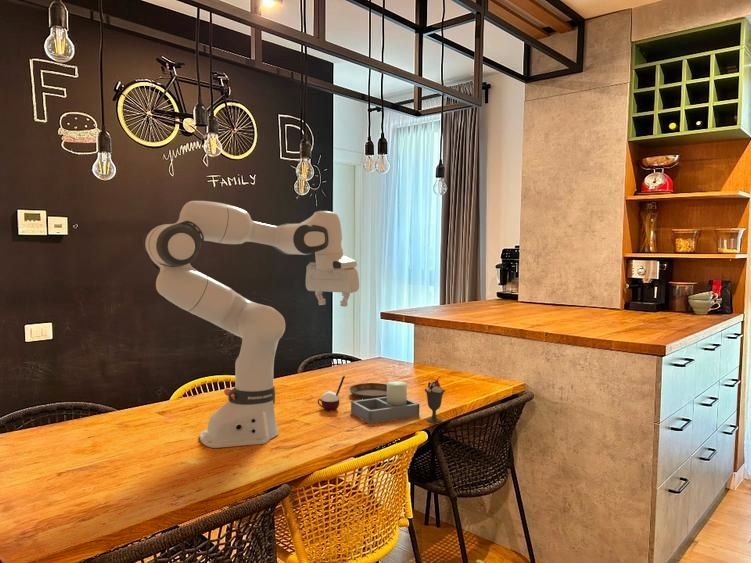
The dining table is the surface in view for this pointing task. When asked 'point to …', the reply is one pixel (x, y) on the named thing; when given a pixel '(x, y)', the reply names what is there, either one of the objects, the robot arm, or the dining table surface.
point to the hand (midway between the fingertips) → (333, 305)
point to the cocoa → (331, 399)
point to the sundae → (434, 399)
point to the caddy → (386, 405)
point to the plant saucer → (369, 390)
